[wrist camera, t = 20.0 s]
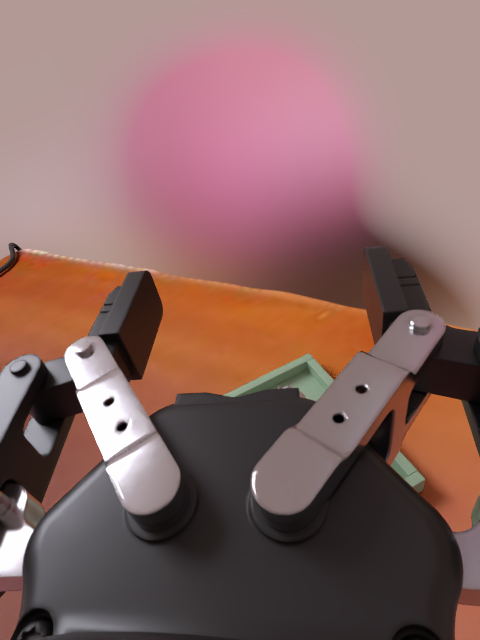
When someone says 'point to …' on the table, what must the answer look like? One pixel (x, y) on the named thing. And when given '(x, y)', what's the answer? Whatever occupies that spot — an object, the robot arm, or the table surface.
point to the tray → (313, 385)
